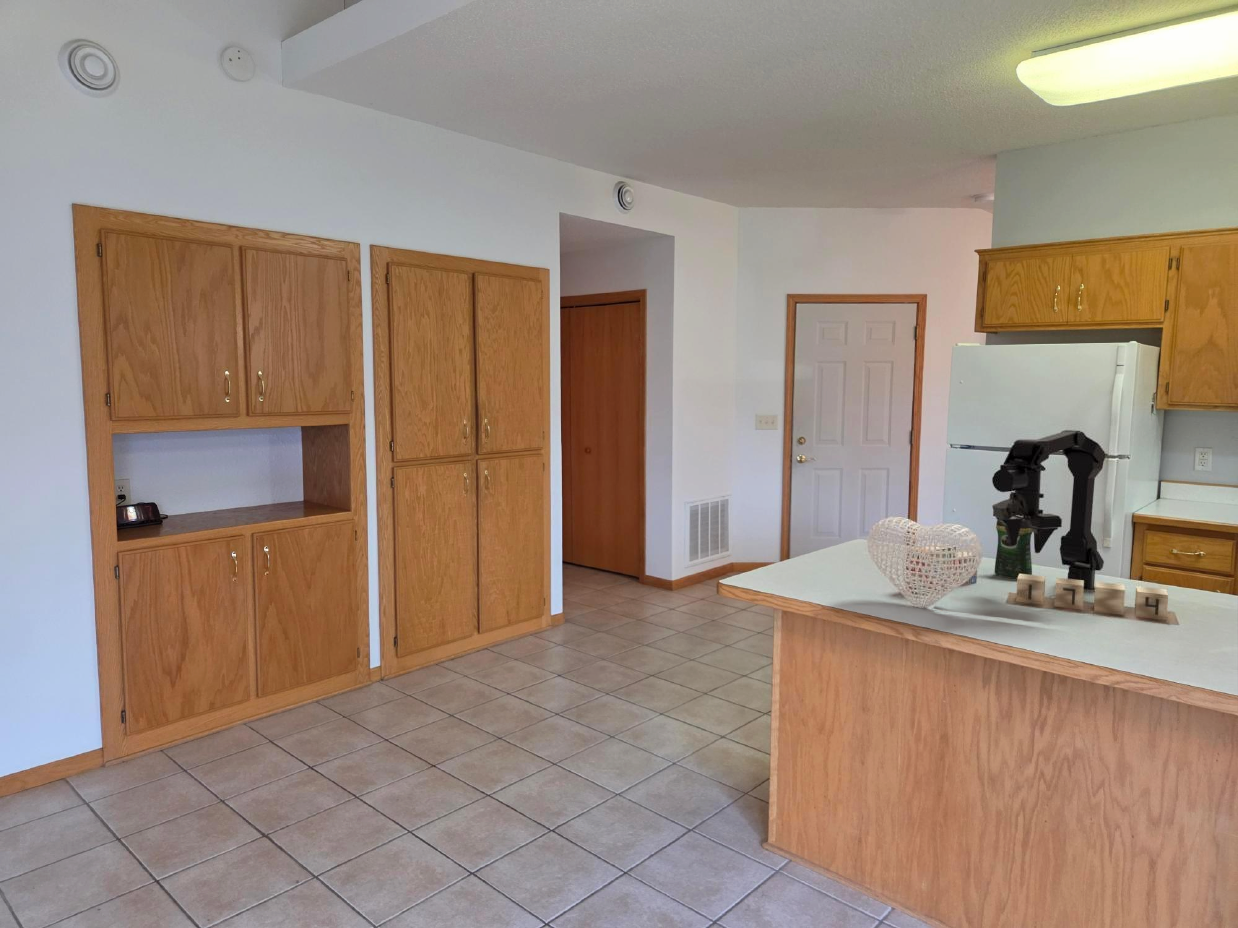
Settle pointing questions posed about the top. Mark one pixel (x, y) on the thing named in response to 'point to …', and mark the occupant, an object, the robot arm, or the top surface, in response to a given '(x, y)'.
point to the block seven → (1069, 593)
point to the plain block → (1109, 598)
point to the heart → (919, 531)
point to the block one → (1030, 589)
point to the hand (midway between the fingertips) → (1024, 549)
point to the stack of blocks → (969, 581)
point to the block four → (1151, 603)
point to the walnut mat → (1089, 609)
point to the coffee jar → (1014, 552)
